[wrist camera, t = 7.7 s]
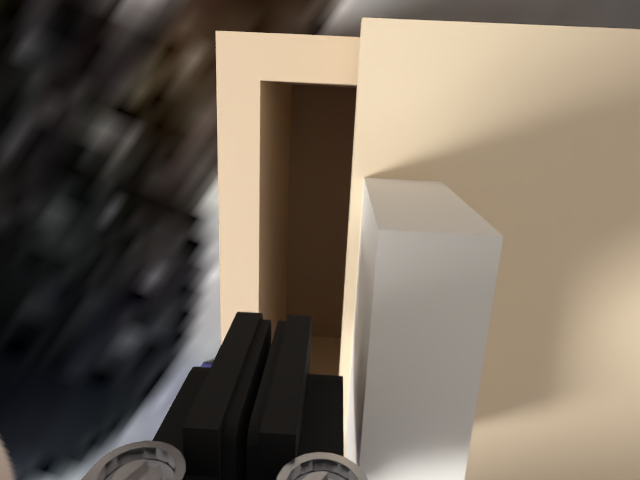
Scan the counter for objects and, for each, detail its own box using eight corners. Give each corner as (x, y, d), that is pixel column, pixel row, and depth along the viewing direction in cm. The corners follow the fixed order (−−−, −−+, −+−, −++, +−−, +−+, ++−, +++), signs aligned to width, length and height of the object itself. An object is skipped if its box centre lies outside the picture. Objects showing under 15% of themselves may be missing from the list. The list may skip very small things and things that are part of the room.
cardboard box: (596, 71, 22) (791, 55, 13) (538, 361, 27) (650, 514, 17) (268, 56, 22) (215, 31, 13) (264, 346, 27) (223, 486, 17)
